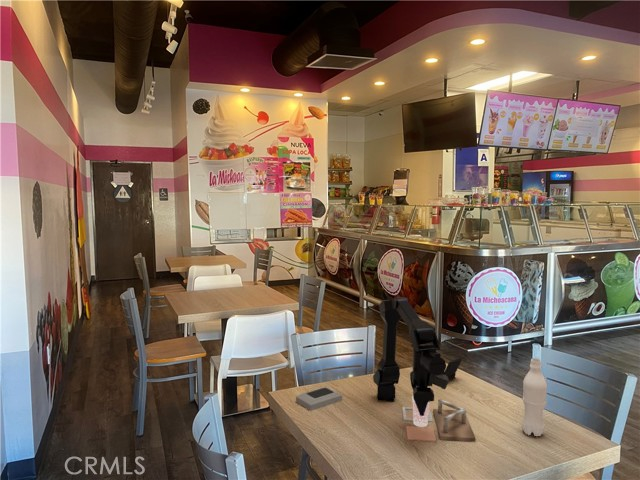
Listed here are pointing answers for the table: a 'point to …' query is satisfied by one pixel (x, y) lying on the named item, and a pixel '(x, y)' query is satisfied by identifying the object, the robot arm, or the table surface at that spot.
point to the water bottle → (534, 399)
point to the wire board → (453, 423)
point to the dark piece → (452, 368)
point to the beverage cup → (418, 419)
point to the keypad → (318, 398)
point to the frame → (412, 419)
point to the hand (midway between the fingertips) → (420, 410)
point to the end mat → (420, 433)
